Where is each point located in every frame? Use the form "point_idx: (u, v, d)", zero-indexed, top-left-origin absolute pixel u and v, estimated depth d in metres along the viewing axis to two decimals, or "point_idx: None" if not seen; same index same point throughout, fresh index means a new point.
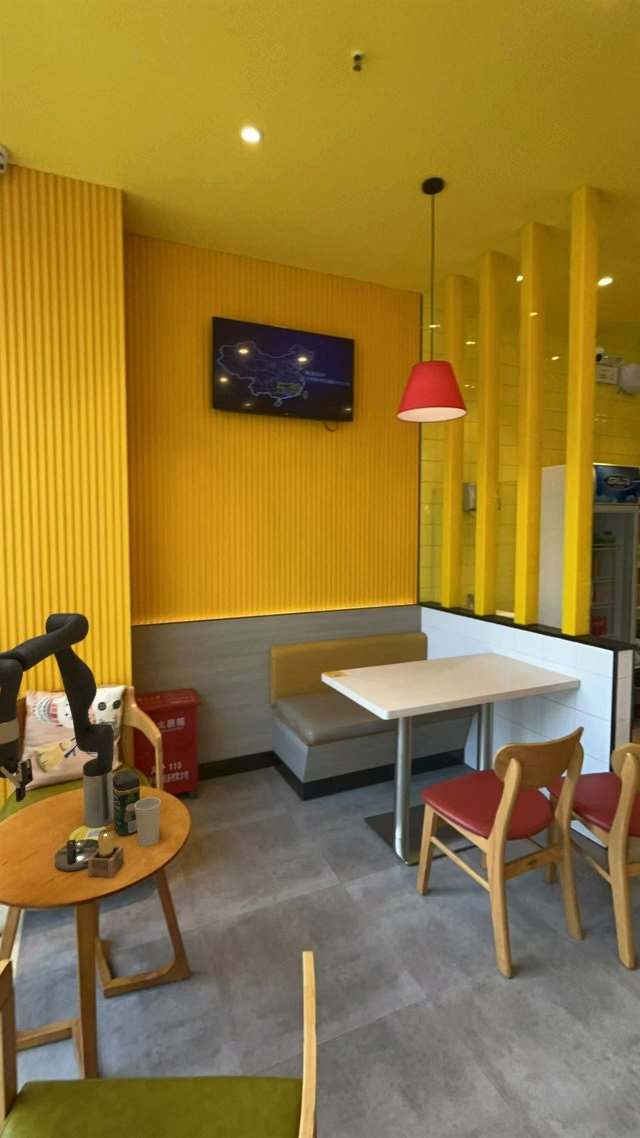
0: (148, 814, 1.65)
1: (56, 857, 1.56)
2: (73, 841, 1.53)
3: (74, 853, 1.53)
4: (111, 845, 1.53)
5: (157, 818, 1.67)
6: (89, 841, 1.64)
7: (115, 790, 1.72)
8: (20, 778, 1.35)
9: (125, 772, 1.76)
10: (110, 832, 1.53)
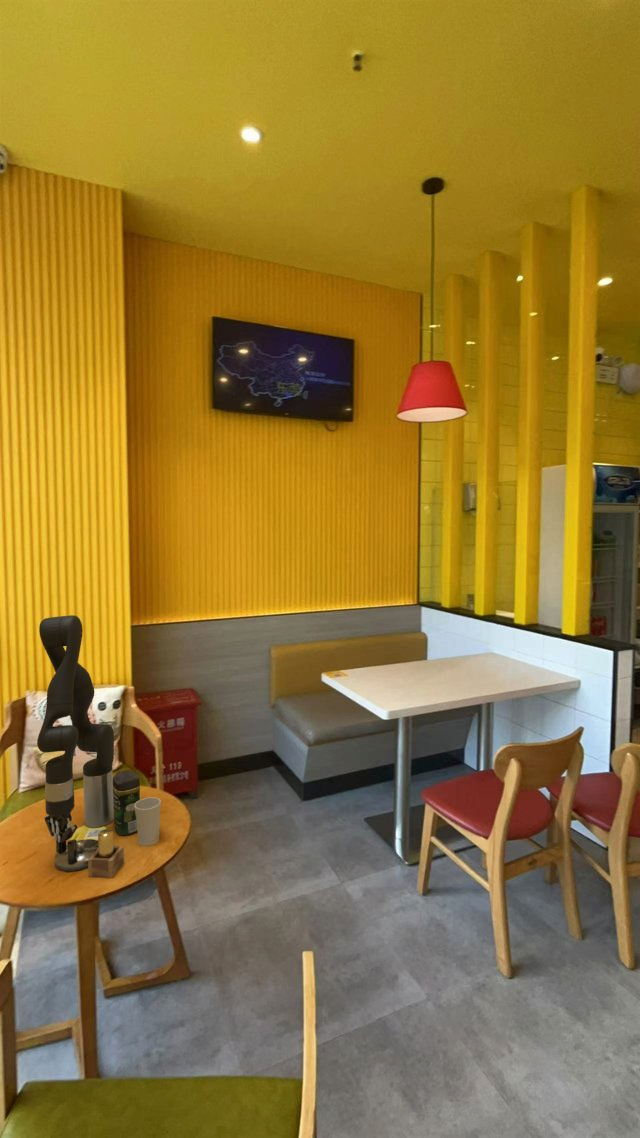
0: (148, 814, 1.65)
1: (56, 857, 1.56)
2: (74, 841, 1.53)
3: (75, 853, 1.53)
4: (111, 845, 1.53)
5: (157, 818, 1.67)
6: (88, 841, 1.64)
7: (115, 790, 1.72)
8: None
9: (125, 772, 1.76)
10: (110, 832, 1.53)
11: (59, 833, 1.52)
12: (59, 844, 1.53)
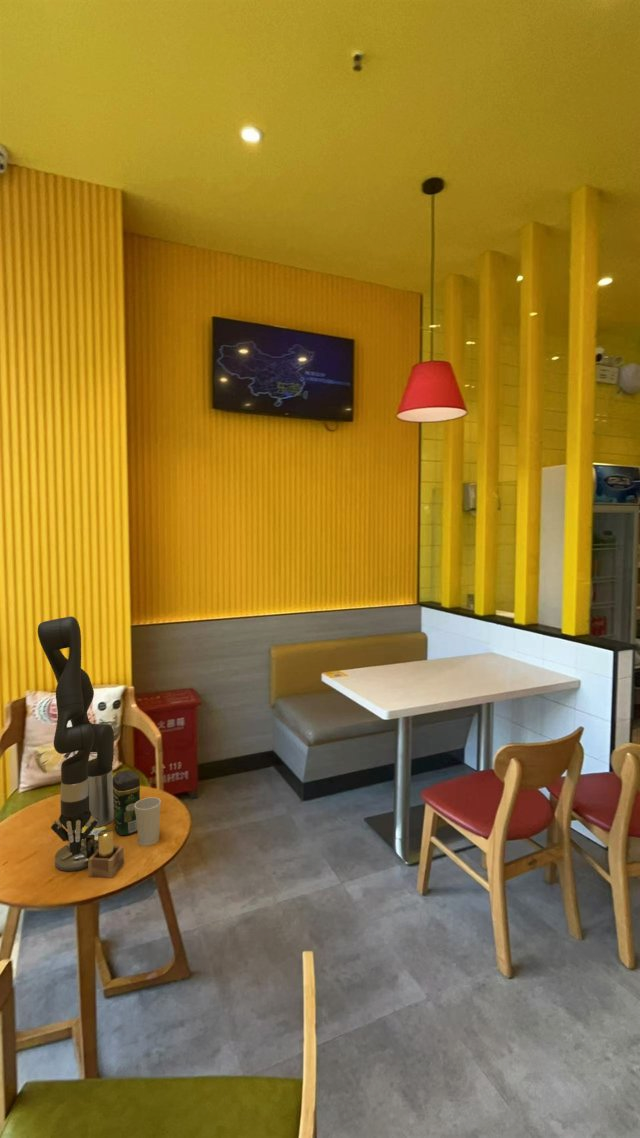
0: (148, 814, 1.65)
1: (67, 863, 1.53)
2: (91, 835, 1.56)
3: (94, 845, 1.57)
4: (111, 845, 1.52)
5: (157, 818, 1.67)
6: None
7: (115, 790, 1.72)
8: None
9: (125, 772, 1.76)
10: (110, 832, 1.53)
11: (80, 832, 1.53)
12: (77, 844, 1.53)
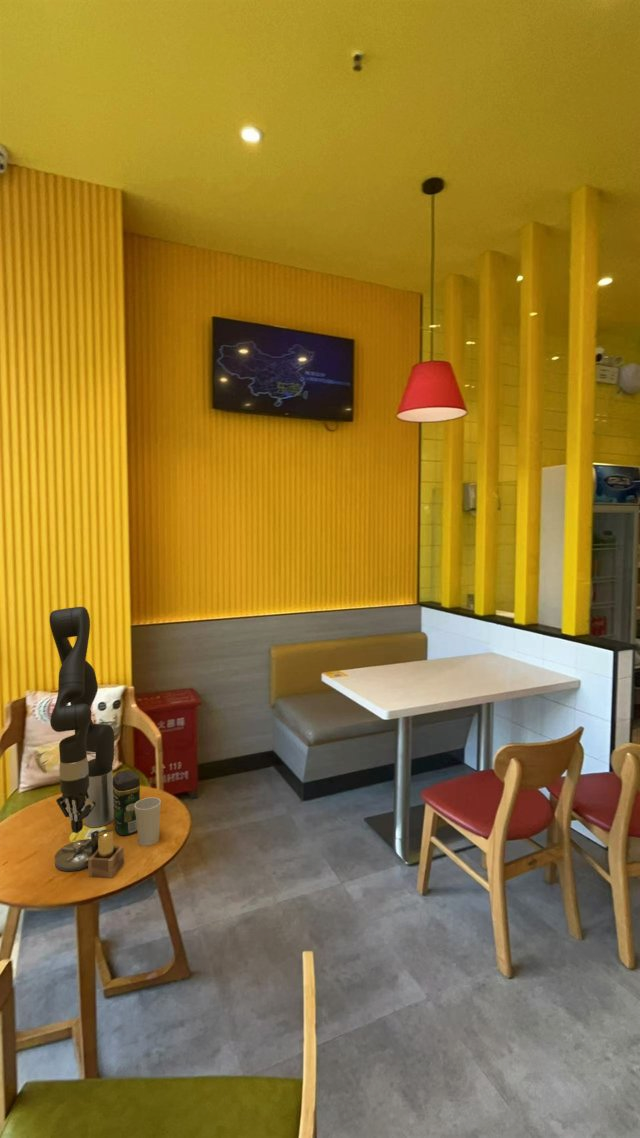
0: (148, 814, 1.65)
1: (75, 862, 1.53)
2: (95, 832, 1.58)
3: None
4: (111, 845, 1.52)
5: (157, 818, 1.67)
6: None
7: (115, 790, 1.72)
8: None
9: (125, 772, 1.76)
10: (110, 832, 1.53)
11: (76, 812, 1.51)
12: (76, 823, 1.52)
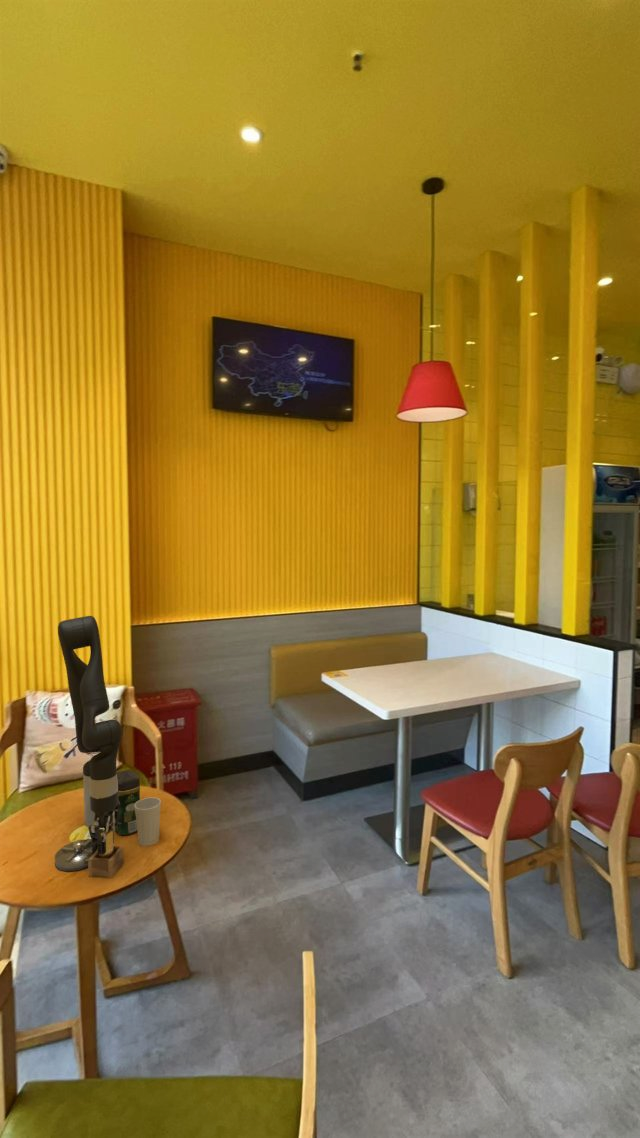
0: (148, 814, 1.65)
1: (75, 862, 1.53)
2: None
3: None
4: (111, 845, 1.53)
5: (157, 818, 1.67)
6: None
7: None
8: None
9: (125, 772, 1.76)
10: (110, 832, 1.53)
11: None
12: None
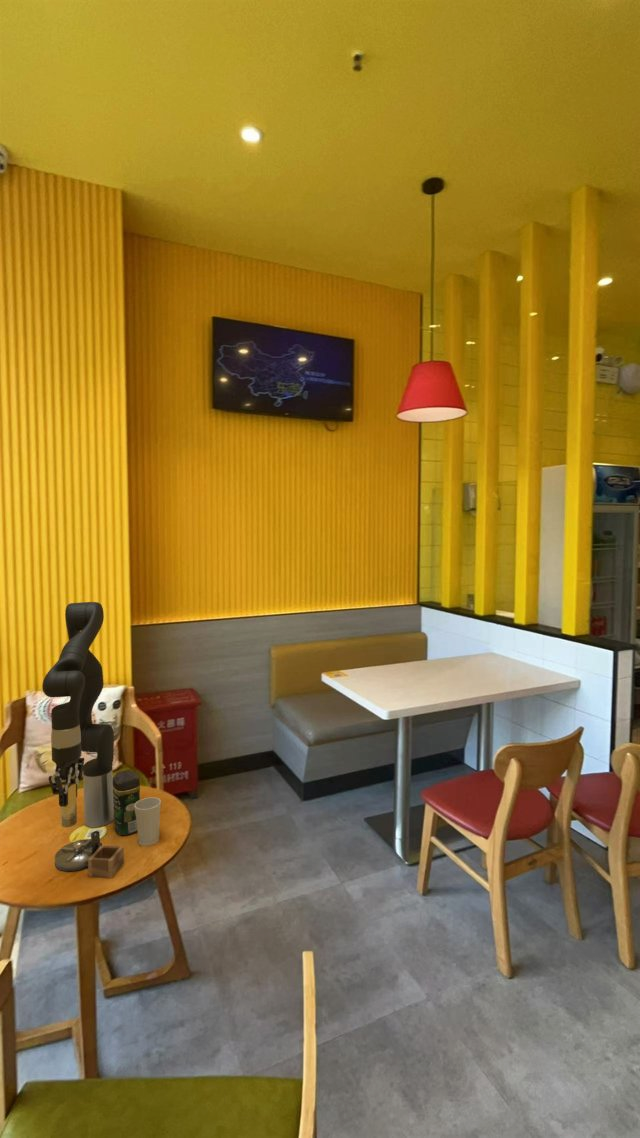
0: (148, 814, 1.65)
1: (75, 862, 1.53)
2: (95, 832, 1.58)
3: None
4: (74, 797, 1.49)
5: (157, 818, 1.67)
6: None
7: (115, 790, 1.72)
8: (70, 778, 1.52)
9: (125, 772, 1.76)
10: (73, 785, 1.49)
11: None
12: None
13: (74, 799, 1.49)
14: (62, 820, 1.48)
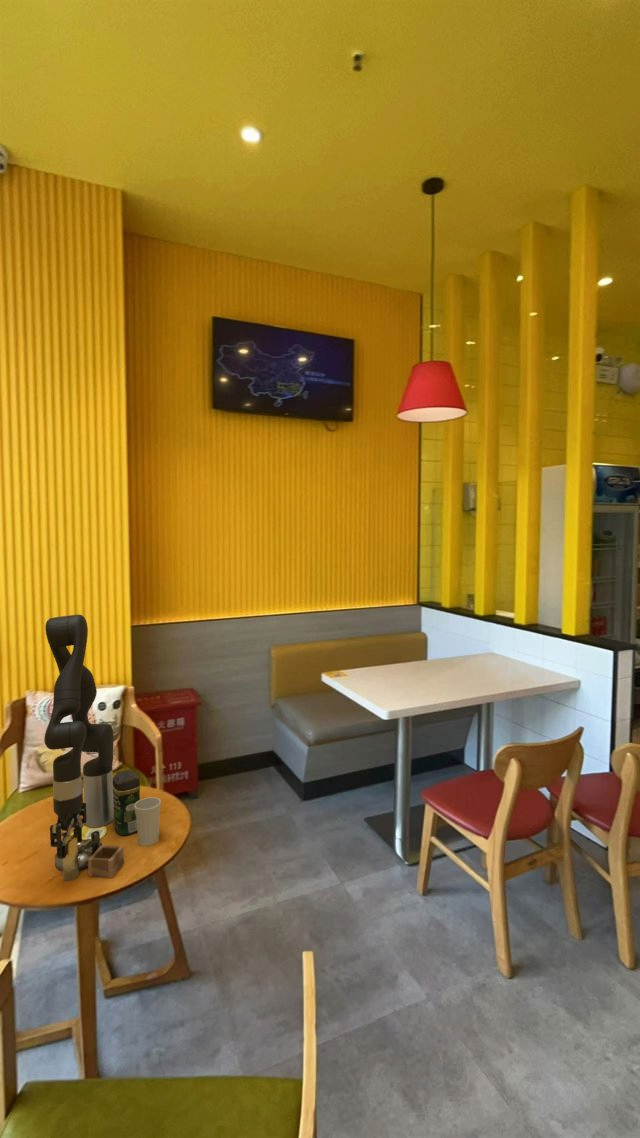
0: (148, 814, 1.65)
1: None
2: (95, 832, 1.58)
3: None
4: (76, 851, 1.50)
5: (157, 818, 1.67)
6: None
7: (115, 790, 1.72)
8: None
9: (125, 772, 1.76)
10: (74, 838, 1.50)
11: None
12: None
13: (76, 853, 1.50)
14: (64, 874, 1.49)
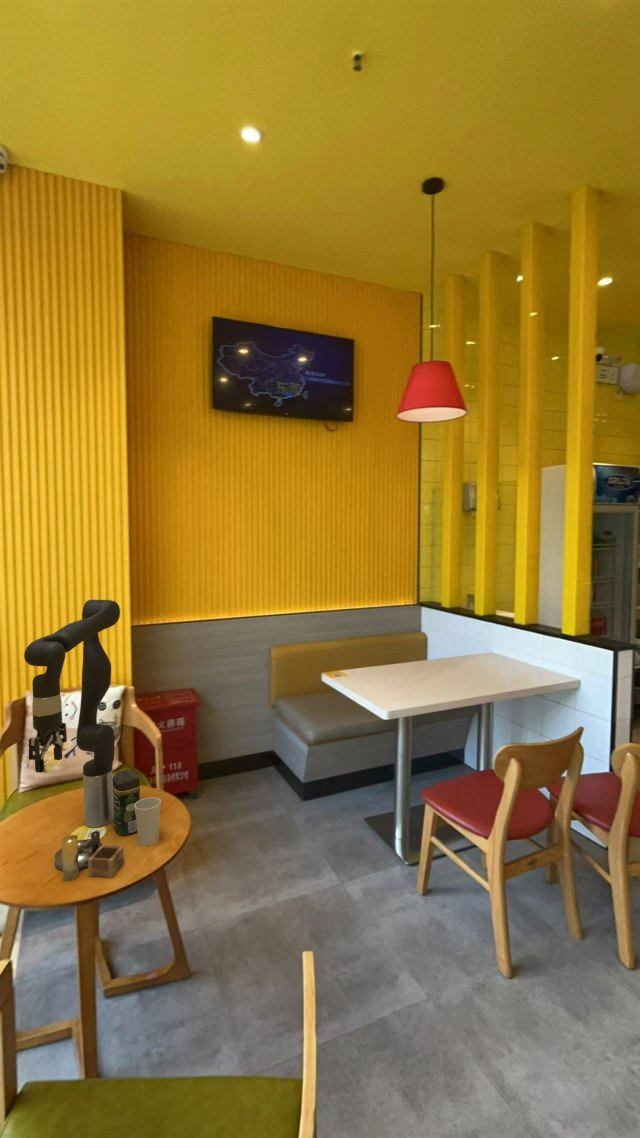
0: (148, 814, 1.65)
1: None
2: (95, 832, 1.58)
3: None
4: (76, 851, 1.50)
5: (157, 818, 1.67)
6: None
7: (115, 790, 1.72)
8: (54, 742, 1.58)
9: (125, 772, 1.76)
10: (74, 838, 1.50)
11: None
12: None
13: (76, 853, 1.50)
14: (64, 874, 1.49)
